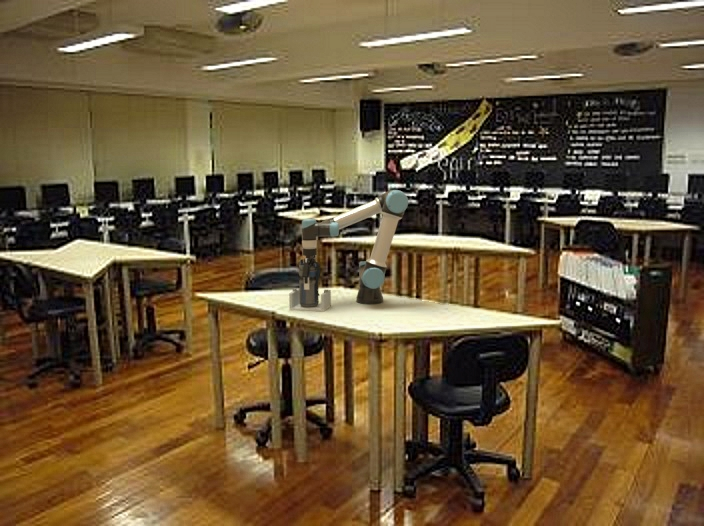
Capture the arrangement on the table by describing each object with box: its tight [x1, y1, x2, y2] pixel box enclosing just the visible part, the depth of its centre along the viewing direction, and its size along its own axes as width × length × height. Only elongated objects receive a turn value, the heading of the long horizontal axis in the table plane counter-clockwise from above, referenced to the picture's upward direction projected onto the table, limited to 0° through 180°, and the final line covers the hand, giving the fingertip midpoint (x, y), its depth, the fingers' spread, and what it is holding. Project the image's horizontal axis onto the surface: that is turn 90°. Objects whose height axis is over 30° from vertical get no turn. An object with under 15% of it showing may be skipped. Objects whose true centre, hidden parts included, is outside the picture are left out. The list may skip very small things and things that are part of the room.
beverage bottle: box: [298, 258, 321, 307], centre depth 334 cm, size 10×13×25 cm
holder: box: [288, 287, 332, 313], centre depth 335 cm, size 19×14×10 cm
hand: (310, 287), depth 334 cm, fingers open, 13 cm apart
